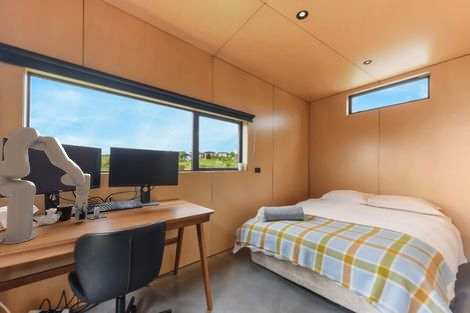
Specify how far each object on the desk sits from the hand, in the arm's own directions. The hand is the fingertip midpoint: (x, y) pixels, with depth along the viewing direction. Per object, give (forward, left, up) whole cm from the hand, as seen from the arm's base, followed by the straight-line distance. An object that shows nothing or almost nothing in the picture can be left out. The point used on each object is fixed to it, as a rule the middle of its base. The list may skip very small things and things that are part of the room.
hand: (80, 218), depth 135 cm
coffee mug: (-6, +15, -3) cm, 17 cm away
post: (+11, +5, -3) cm, 12 cm away
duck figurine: (-14, +10, -3) cm, 18 cm away
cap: (0, 0, -1) cm, 1 cm away
